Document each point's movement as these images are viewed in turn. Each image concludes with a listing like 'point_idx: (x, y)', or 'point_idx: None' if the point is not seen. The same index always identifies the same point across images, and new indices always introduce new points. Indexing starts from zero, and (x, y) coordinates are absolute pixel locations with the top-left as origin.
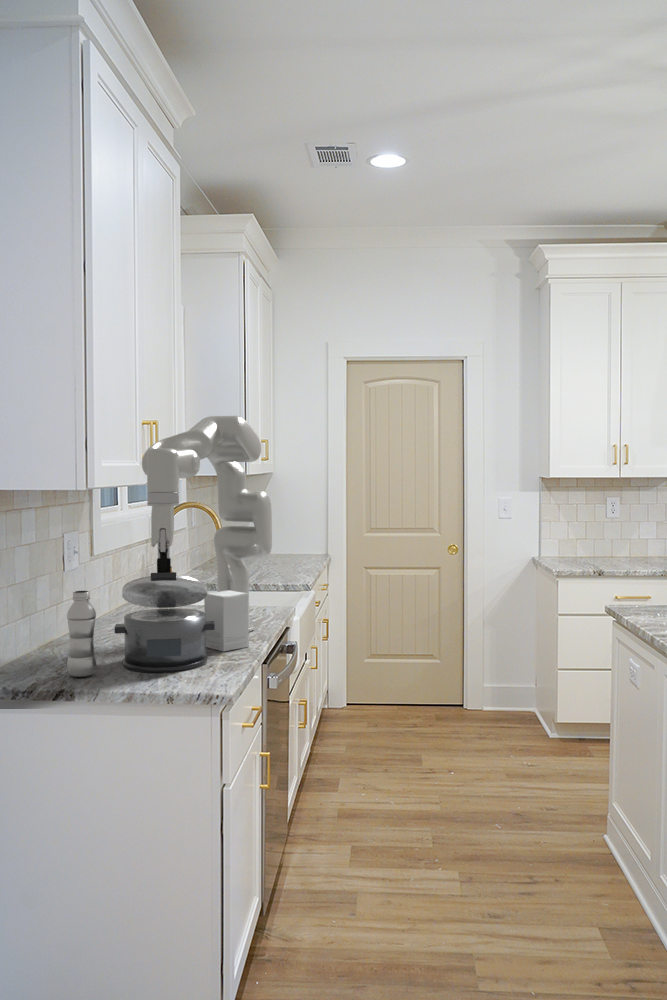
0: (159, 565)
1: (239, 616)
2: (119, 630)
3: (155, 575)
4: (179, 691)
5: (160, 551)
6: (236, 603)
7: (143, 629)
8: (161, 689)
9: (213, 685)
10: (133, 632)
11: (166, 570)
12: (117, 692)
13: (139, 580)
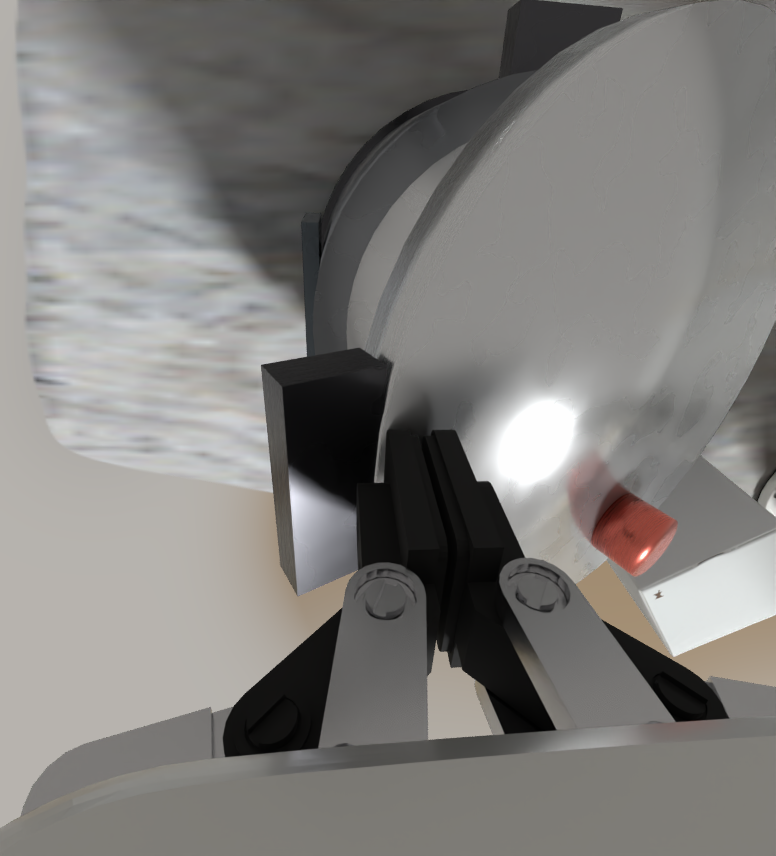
0: (394, 514)
1: (611, 566)
2: (509, 43)
3: (273, 422)
4: (64, 322)
5: (51, 769)
6: (635, 598)
7: (340, 209)
8: (84, 262)
9: (144, 418)
10: (386, 144)
11: (357, 536)
12: (20, 78)
13: (447, 221)
